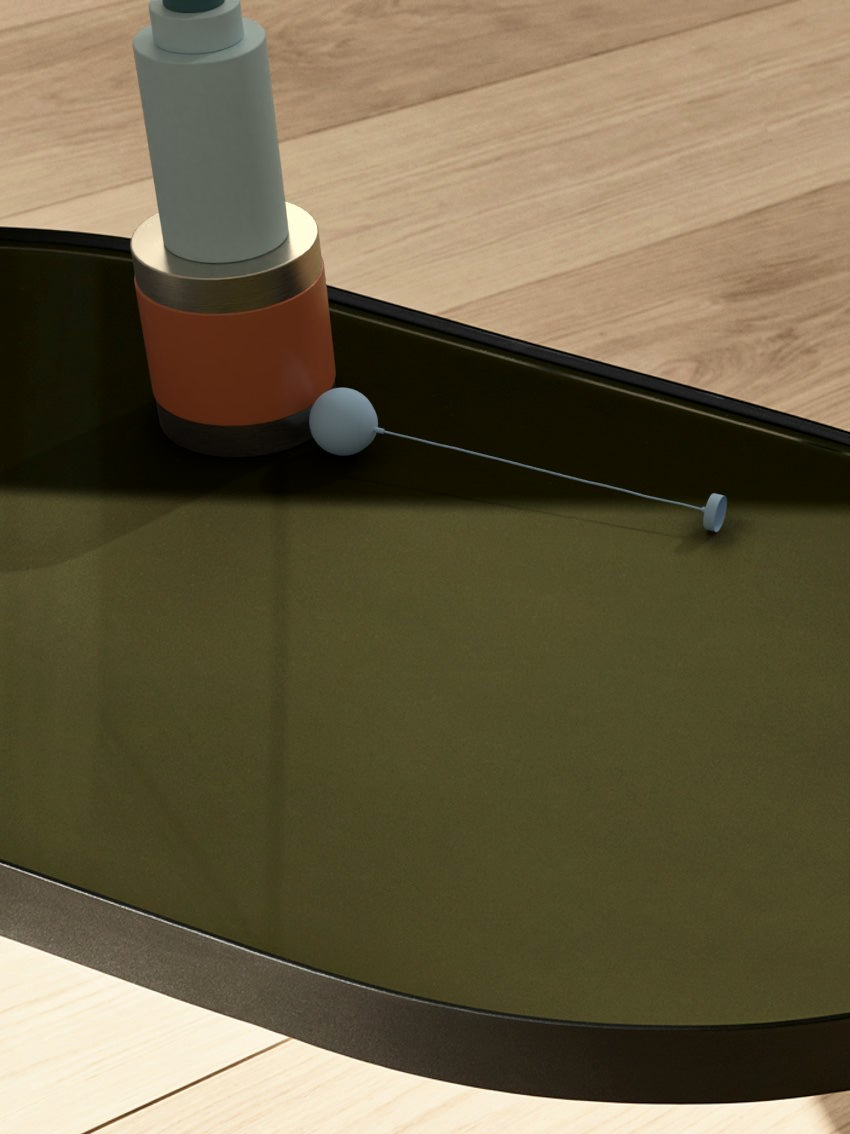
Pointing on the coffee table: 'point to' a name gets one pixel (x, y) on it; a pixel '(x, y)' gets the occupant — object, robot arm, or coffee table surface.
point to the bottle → (211, 130)
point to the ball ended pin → (352, 425)
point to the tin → (236, 341)
